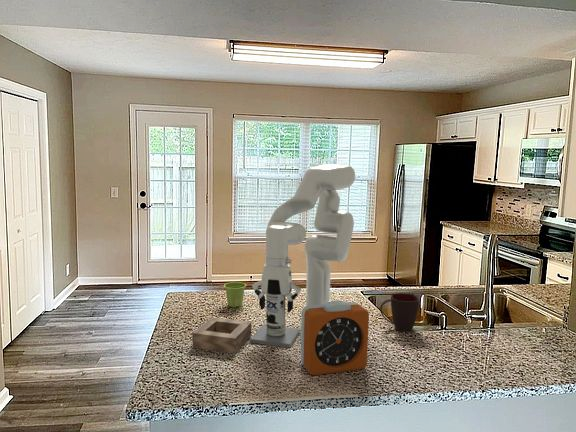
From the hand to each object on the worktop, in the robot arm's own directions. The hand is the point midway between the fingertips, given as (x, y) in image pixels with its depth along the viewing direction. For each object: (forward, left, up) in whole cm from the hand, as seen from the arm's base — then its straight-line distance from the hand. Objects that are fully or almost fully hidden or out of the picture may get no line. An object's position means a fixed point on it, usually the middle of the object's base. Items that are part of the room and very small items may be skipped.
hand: (276, 309), depth 156 cm
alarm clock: (-23, +16, -10) cm, 30 cm away
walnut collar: (+16, +9, -10) cm, 21 cm away
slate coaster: (0, 0, -10) cm, 10 cm away
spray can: (0, 0, -9) cm, 9 cm away
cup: (-41, -21, -10) cm, 47 cm away
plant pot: (+26, -27, -10) cm, 39 cm away
